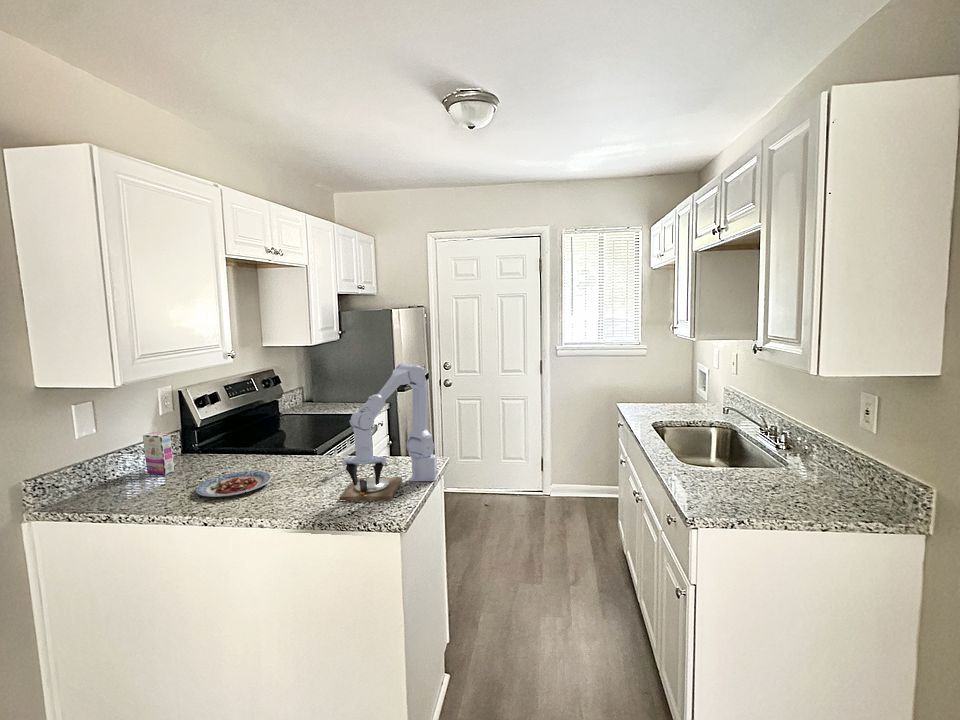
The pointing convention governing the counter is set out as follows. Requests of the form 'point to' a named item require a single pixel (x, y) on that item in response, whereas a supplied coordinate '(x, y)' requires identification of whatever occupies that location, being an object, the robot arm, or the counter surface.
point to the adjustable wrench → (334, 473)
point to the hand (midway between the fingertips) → (366, 484)
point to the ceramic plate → (233, 483)
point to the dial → (371, 485)
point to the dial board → (380, 495)
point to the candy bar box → (159, 453)
